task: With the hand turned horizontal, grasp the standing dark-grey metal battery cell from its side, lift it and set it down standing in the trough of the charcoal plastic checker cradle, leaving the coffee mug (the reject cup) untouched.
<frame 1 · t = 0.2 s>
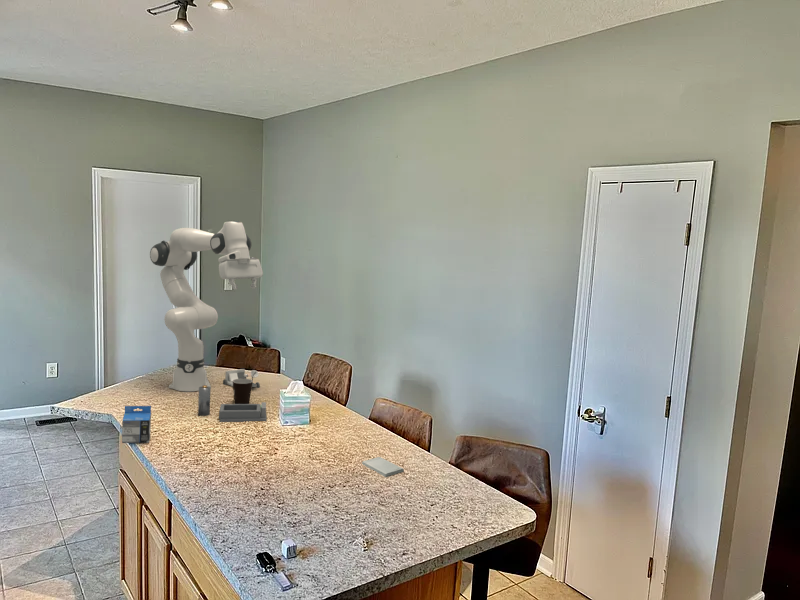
hand: (244, 288, 245), 52 cm above the counter, tool tilted 20°, fingers open, 8 cm apart
hard drive: (382, 469, 194), on the counter
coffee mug: (242, 402, 256), on the counter
toy lunar rover: (242, 387, 281), on the counter
cradle: (243, 416, 236), on the counter
cell: (203, 414, 236), on the counter
label tape cartridge: (136, 441, 202), on the counter
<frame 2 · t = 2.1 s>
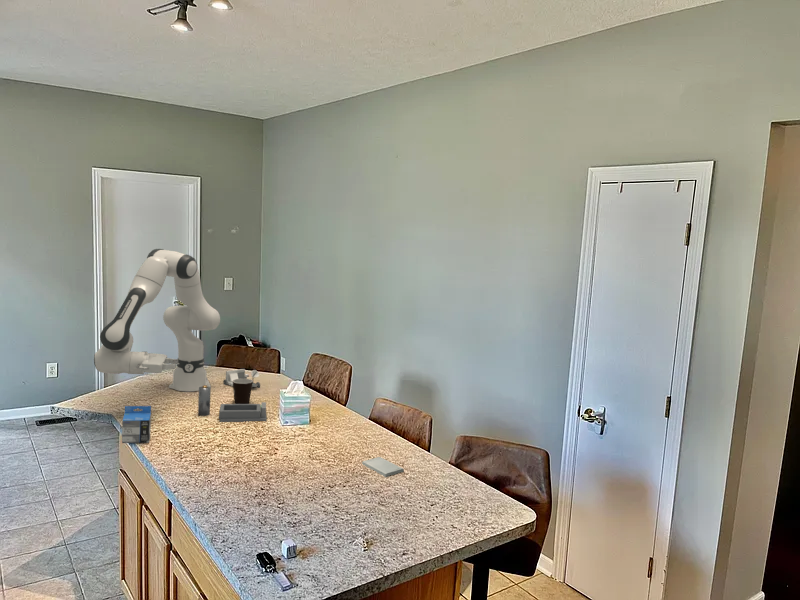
hand: (176, 364, 231), 21 cm above the counter, tool horizontal, fingers open, 8 cm apart
nothing on the counter moved.
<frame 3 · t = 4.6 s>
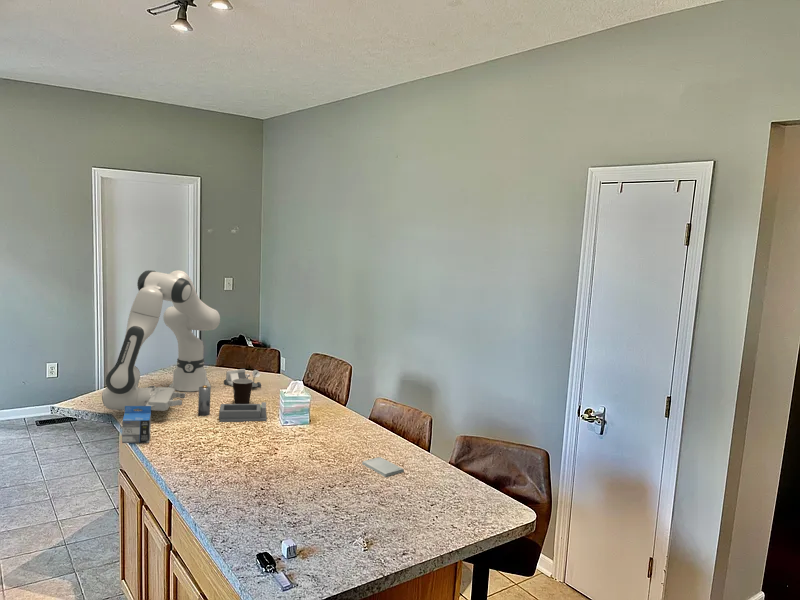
hand: (183, 398, 234), 6 cm above the counter, tool horizontal, fingers open, 8 cm apart
nothing on the counter moved.
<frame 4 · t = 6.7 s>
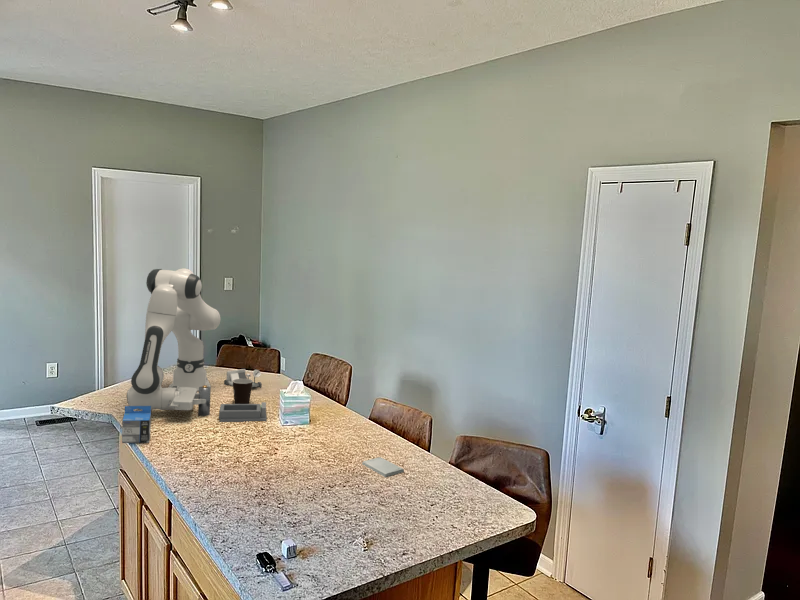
hand: (206, 398, 236), 7 cm above the counter, tool horizontal, fingers closed on cell, 5 cm apart
cell: (203, 414, 236), on the counter, touching gripper
everything else where it was.
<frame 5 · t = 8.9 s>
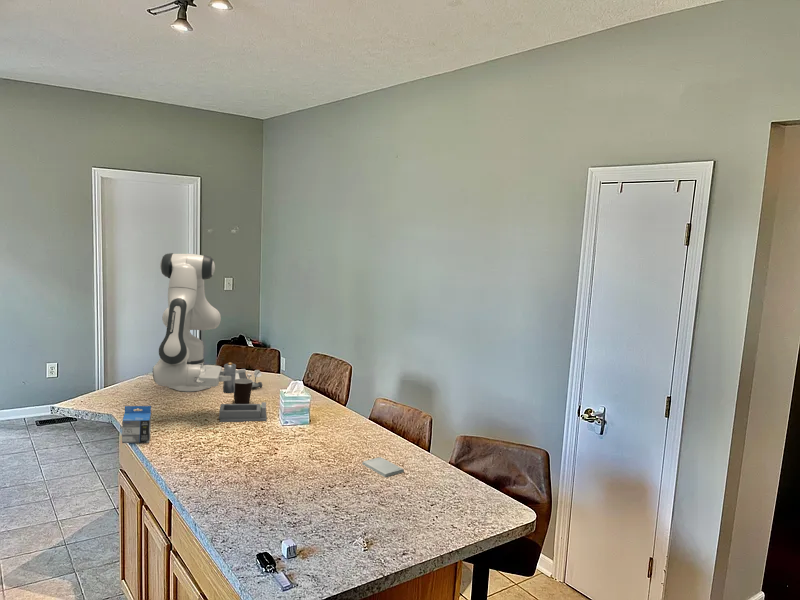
hand: (231, 376, 233), 17 cm above the counter, tool horizontal, fingers closed on cell, 5 cm apart
cell: (228, 391, 234), point 11 cm above the counter, touching gripper
when the fingers open (8 cm above the counter, at t = 11.1 s): cell stays where it is, resting on cradle.
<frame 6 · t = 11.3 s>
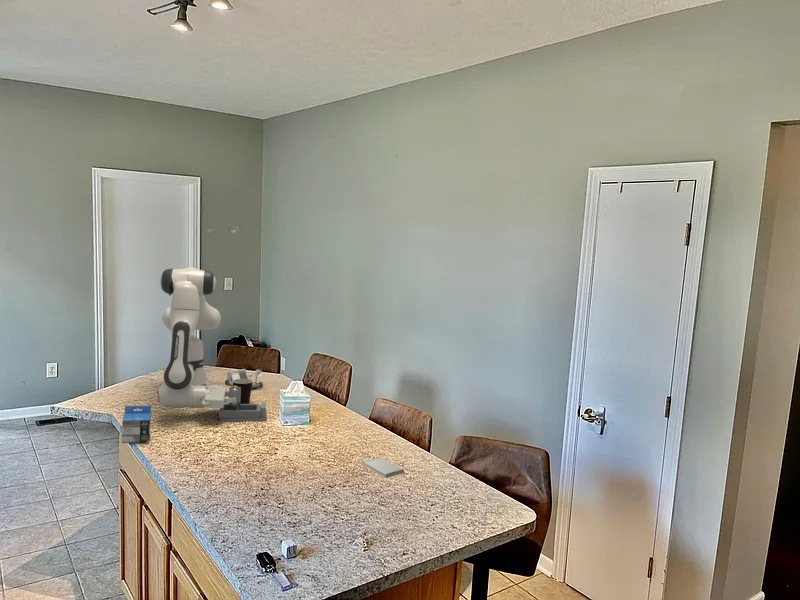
hand: (236, 396, 234), 8 cm above the counter, tool horizontal, fingers open, 6 cm apart
cell: (233, 414, 235), point 1 cm above the counter, touching cradle
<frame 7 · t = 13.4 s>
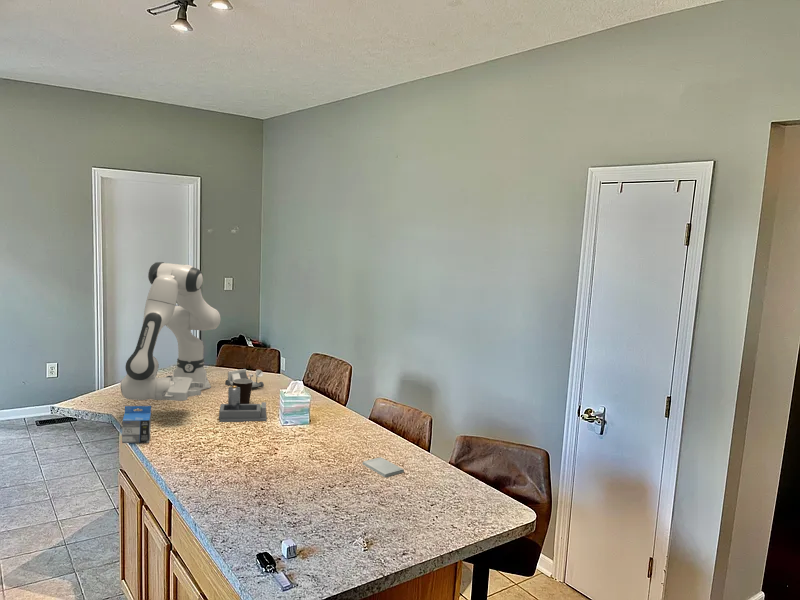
hand: (202, 388, 231), 12 cm above the counter, tool horizontal, fingers open, 8 cm apart
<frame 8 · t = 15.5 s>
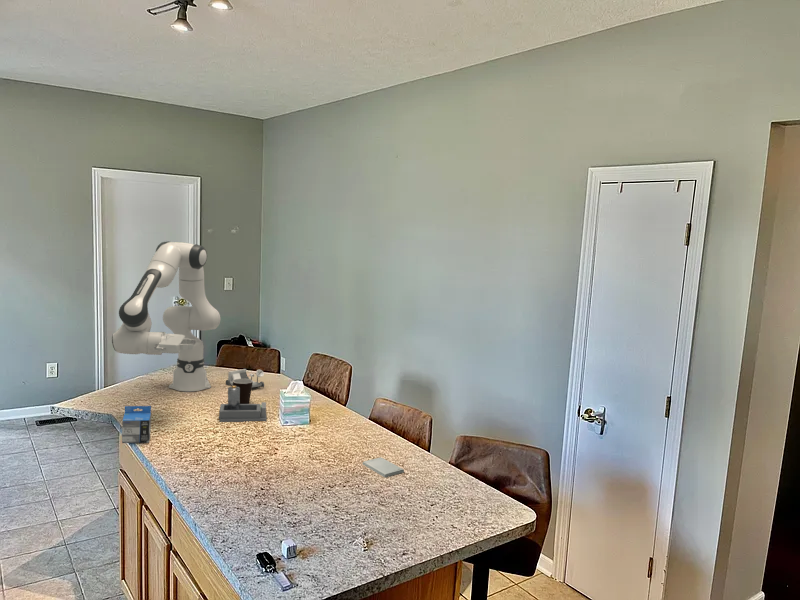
hand: (194, 344, 228), 30 cm above the counter, tool horizontal, fingers open, 8 cm apart
at the end: cell inside the target area on the cradle (2.6 cm from its centre), point 1.1 cm above the cradle's base; cell tilted 2°; the gripper is holding nothing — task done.
